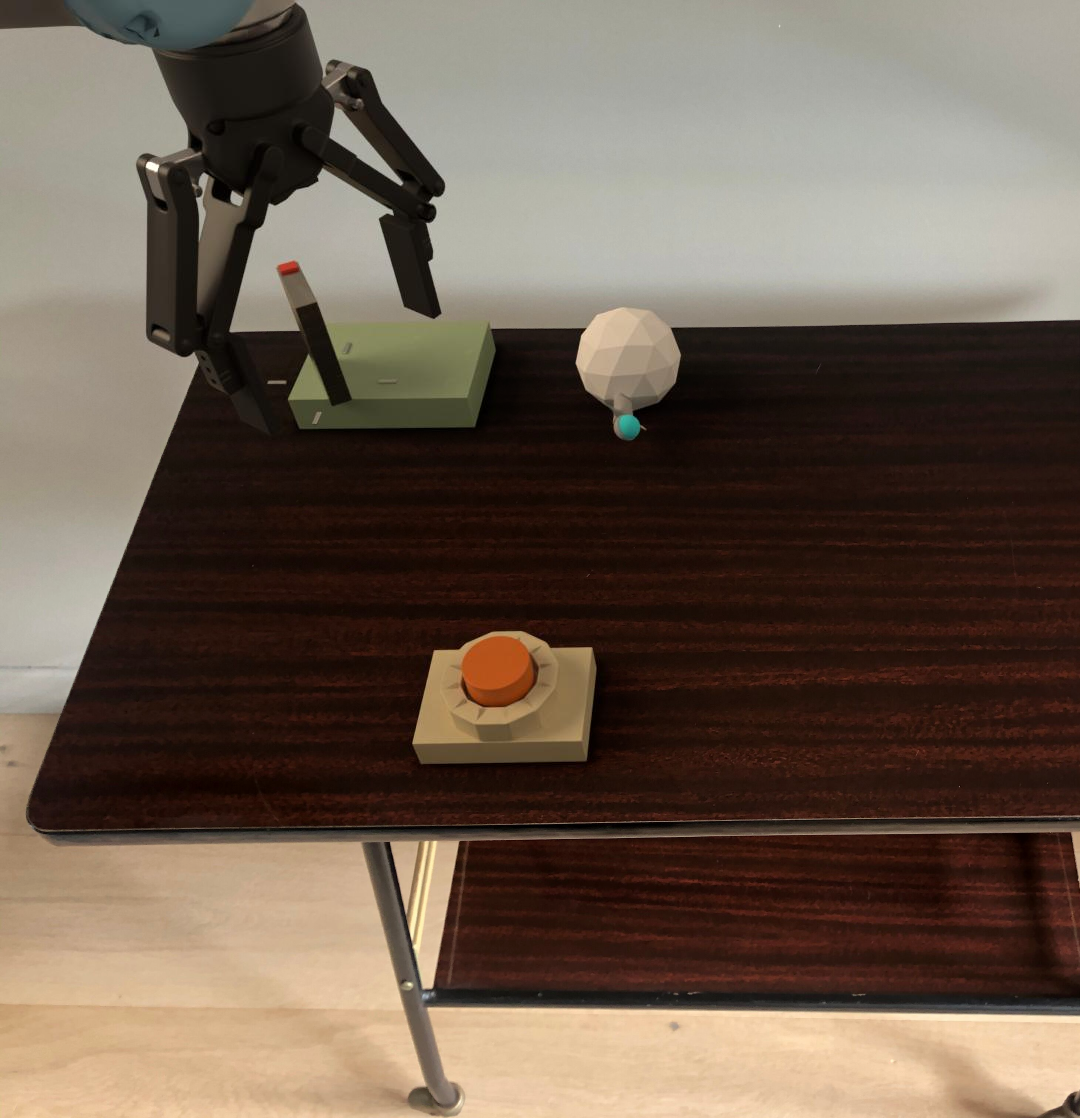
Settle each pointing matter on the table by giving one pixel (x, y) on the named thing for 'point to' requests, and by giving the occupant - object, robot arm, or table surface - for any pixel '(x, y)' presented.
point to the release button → (498, 671)
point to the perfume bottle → (628, 363)
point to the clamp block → (400, 376)
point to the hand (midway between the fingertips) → (346, 365)
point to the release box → (509, 710)
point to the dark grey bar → (314, 332)
